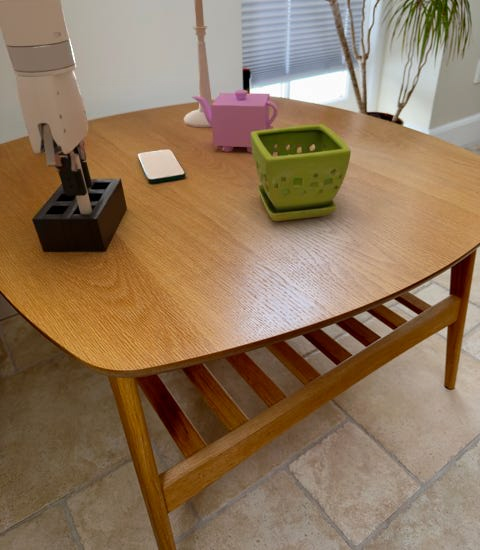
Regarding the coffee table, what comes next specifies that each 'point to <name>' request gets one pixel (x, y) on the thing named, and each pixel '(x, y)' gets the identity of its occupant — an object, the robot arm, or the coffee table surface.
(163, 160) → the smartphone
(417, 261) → the coffee table surface
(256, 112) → the teapot
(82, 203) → the light grey square rod
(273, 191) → the flower pot
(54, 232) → the organizer
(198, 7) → the candlestick
